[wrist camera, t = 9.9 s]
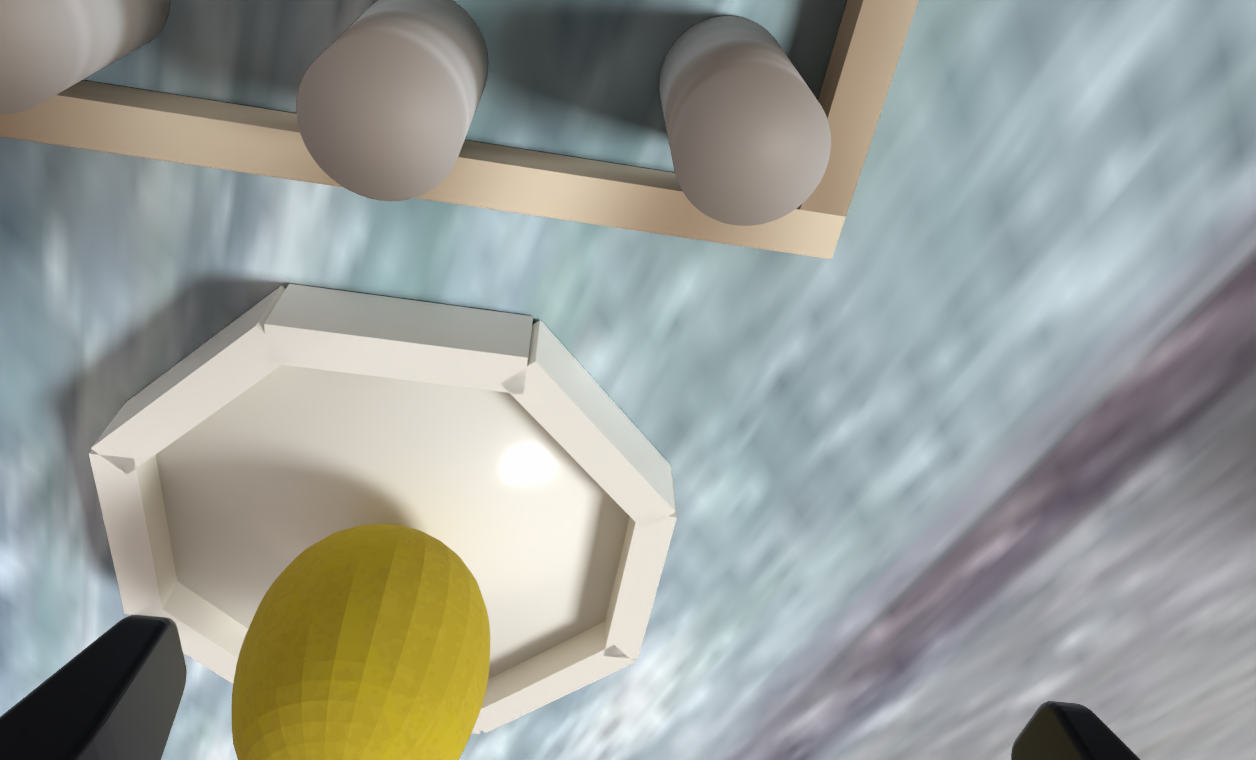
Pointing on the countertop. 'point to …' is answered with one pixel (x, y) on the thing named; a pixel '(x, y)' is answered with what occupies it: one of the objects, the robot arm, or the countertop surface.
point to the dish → (392, 479)
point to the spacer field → (447, 100)
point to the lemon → (364, 653)
